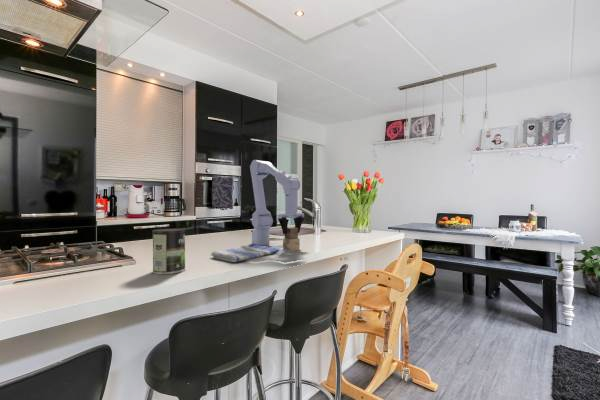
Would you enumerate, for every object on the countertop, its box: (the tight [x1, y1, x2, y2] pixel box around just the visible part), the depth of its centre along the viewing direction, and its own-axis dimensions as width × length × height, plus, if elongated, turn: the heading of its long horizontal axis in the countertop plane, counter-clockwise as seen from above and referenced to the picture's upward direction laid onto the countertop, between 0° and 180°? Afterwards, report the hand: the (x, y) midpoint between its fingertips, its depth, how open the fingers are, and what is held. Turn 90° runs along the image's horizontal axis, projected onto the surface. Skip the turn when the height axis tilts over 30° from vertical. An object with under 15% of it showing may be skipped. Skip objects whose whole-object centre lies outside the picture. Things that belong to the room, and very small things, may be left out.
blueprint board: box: [271, 244, 303, 254], centre depth 143 cm, size 16×16×1 cm
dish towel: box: [210, 243, 279, 263], centre depth 128 cm, size 17×24×3 cm
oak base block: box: [282, 237, 301, 252], centre depth 142 cm, size 6×6×5 cm
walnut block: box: [284, 226, 299, 239], centre depth 142 cm, size 4×4×5 cm
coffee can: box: [151, 227, 186, 275], centre depth 103 cm, size 10×10×14 cm
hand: (291, 233), depth 142 cm, fingers open, 7 cm apart
